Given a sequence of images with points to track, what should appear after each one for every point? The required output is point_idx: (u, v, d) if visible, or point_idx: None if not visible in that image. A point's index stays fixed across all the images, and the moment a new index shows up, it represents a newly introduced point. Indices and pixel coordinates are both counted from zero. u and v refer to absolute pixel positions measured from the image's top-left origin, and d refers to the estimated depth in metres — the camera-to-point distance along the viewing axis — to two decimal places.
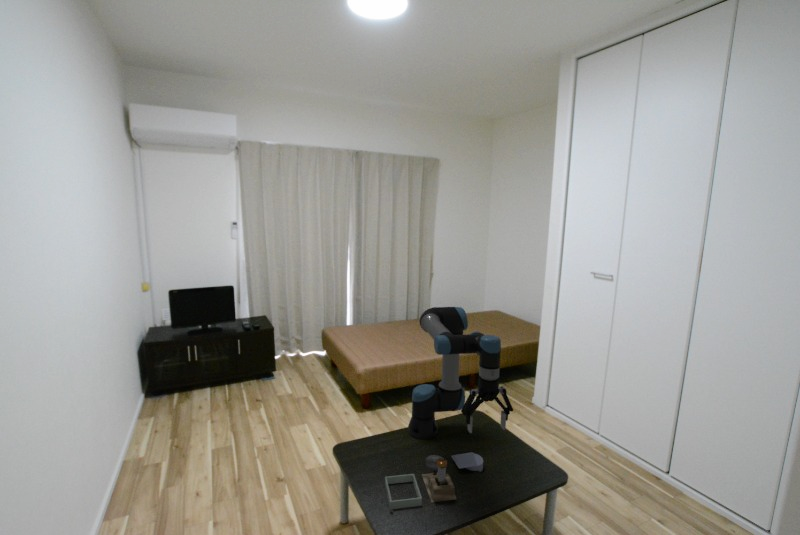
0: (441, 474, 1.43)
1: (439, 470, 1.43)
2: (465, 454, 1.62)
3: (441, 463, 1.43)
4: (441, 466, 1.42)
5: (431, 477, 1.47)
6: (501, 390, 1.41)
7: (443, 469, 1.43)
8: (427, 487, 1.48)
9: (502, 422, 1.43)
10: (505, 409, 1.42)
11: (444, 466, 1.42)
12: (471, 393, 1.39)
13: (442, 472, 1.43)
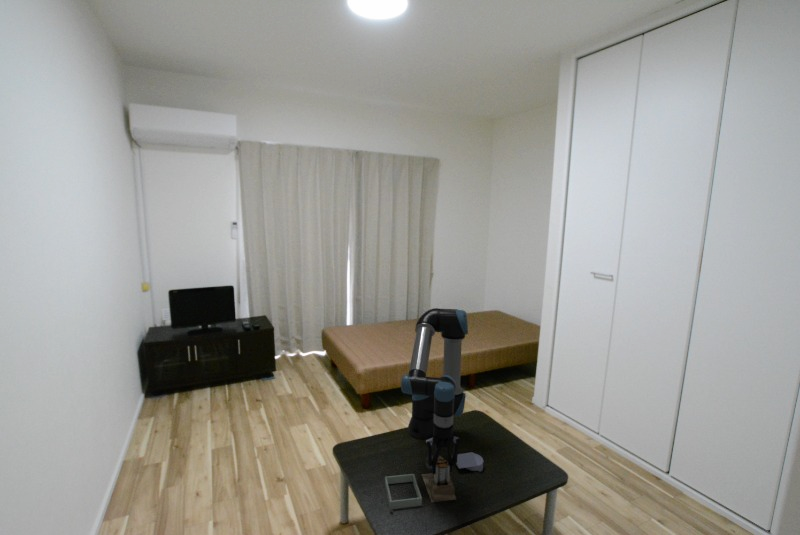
0: (441, 474, 1.43)
1: (439, 470, 1.43)
2: (465, 454, 1.62)
3: (441, 463, 1.43)
4: (441, 466, 1.42)
5: (431, 477, 1.47)
6: (455, 439, 1.43)
7: (443, 469, 1.43)
8: (427, 487, 1.48)
9: (446, 473, 1.45)
10: (450, 460, 1.43)
11: (444, 466, 1.42)
12: (427, 444, 1.41)
13: (442, 472, 1.43)
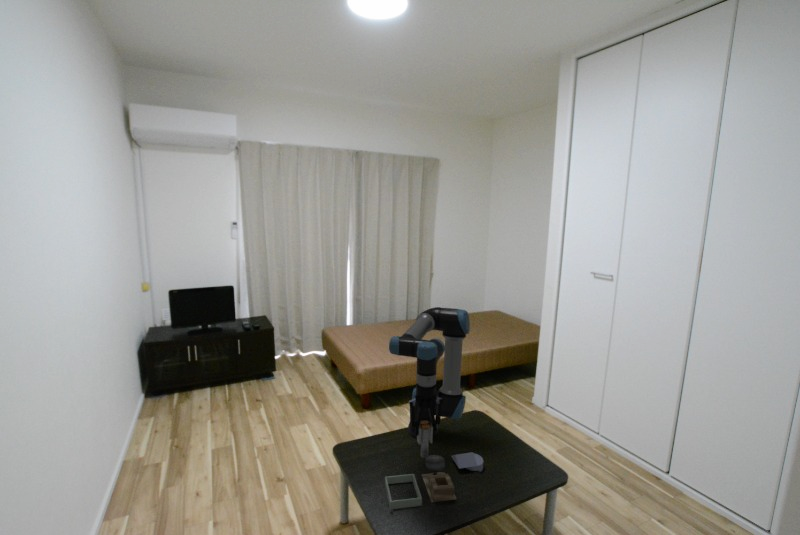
0: (425, 435, 1.41)
1: (422, 431, 1.41)
2: (465, 454, 1.62)
3: (424, 424, 1.41)
4: (424, 427, 1.40)
5: (431, 477, 1.47)
6: (438, 399, 1.41)
7: (426, 430, 1.40)
8: (427, 487, 1.48)
9: (429, 435, 1.42)
10: (433, 421, 1.41)
11: (427, 427, 1.40)
12: (409, 404, 1.39)
13: (425, 433, 1.40)
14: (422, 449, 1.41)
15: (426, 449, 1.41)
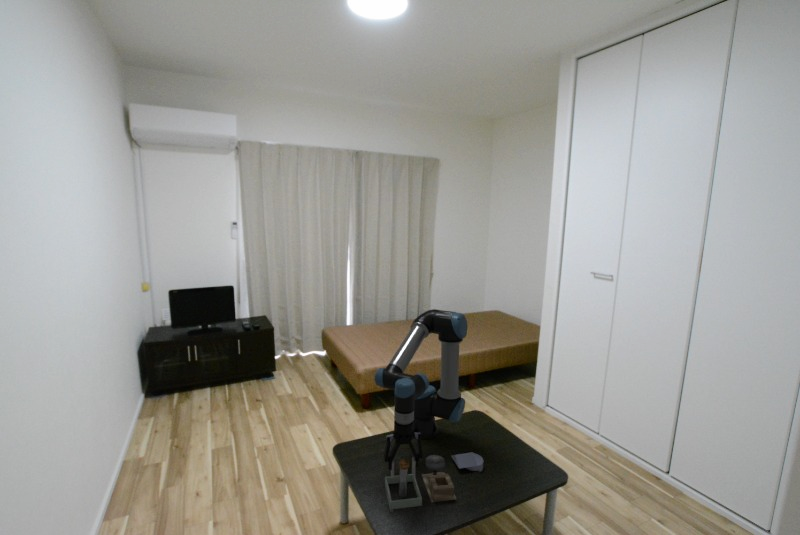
0: (403, 475, 1.42)
1: (401, 471, 1.42)
2: (465, 454, 1.62)
3: (403, 464, 1.42)
4: (402, 467, 1.41)
5: (431, 477, 1.47)
6: (417, 435, 1.42)
7: (405, 470, 1.42)
8: (427, 487, 1.48)
9: (412, 469, 1.44)
10: (415, 456, 1.42)
11: (405, 467, 1.41)
12: None
13: (404, 473, 1.42)
14: (400, 488, 1.43)
15: (404, 489, 1.43)
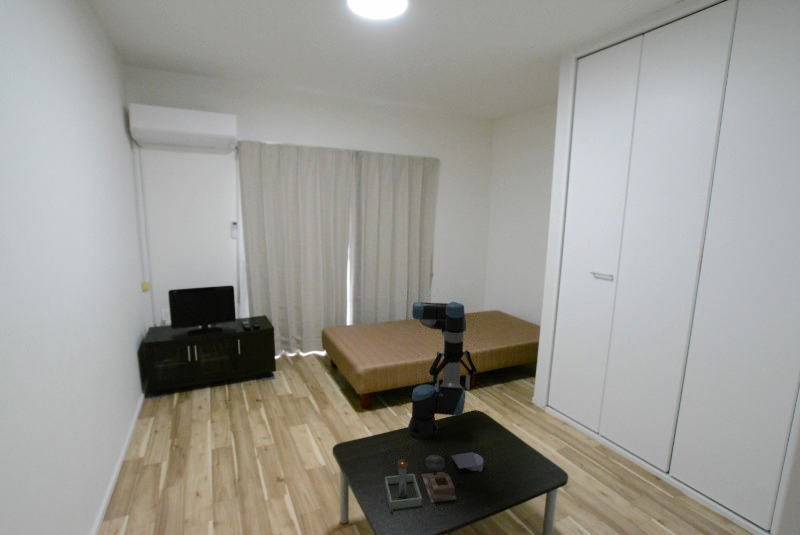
0: (402, 474, 1.42)
1: (399, 470, 1.43)
2: (465, 454, 1.62)
3: (401, 463, 1.43)
4: (401, 466, 1.42)
5: (431, 477, 1.47)
6: (465, 353, 1.55)
7: (403, 469, 1.42)
8: (427, 487, 1.48)
9: (467, 383, 1.57)
10: (469, 370, 1.56)
11: (404, 466, 1.42)
12: (437, 355, 1.53)
13: (402, 472, 1.42)
14: (400, 488, 1.43)
15: (403, 488, 1.43)
